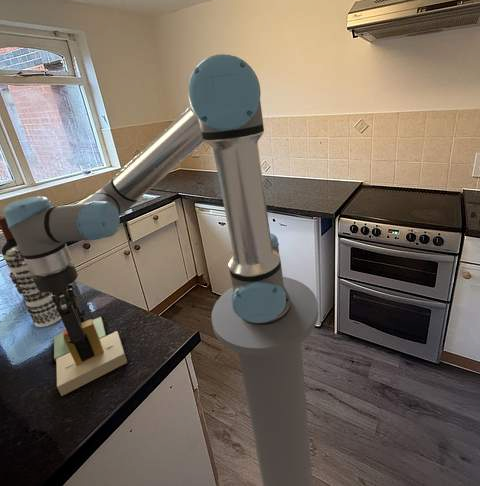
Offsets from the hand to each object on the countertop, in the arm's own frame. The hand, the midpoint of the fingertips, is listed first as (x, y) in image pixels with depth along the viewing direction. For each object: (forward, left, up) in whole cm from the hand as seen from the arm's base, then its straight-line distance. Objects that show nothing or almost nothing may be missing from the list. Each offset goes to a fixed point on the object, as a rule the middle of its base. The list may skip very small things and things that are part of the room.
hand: (86, 348), depth 73 cm
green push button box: (+2, -13, -5) cm, 14 cm away
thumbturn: (0, 0, -2) cm, 2 cm away
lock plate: (0, 0, -5) cm, 5 cm away
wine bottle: (+13, -50, -6) cm, 52 cm away
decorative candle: (+9, -31, -6) cm, 33 cm away
